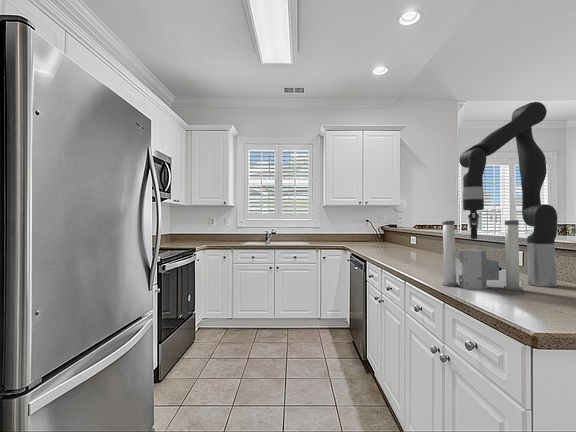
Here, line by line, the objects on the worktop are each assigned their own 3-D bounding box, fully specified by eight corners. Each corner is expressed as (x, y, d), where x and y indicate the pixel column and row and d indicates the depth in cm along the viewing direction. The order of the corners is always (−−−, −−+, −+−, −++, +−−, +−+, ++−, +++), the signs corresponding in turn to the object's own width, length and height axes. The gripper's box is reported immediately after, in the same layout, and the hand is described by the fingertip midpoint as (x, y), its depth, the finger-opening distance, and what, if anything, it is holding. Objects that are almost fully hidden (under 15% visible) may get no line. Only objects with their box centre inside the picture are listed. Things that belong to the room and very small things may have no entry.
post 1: (458, 284, 147) (456, 220, 147) (458, 287, 141) (456, 220, 142) (443, 283, 150) (441, 220, 150) (442, 286, 144) (440, 221, 145)
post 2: (521, 288, 137) (519, 220, 137) (523, 291, 131) (521, 220, 132) (503, 287, 139) (501, 220, 140) (504, 290, 134) (503, 220, 134)
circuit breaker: (503, 289, 135) (503, 251, 135) (464, 288, 138) (463, 251, 138) (496, 286, 143) (495, 249, 143) (458, 285, 145) (458, 249, 146)
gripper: (484, 197, 134) (485, 239, 133) (483, 199, 146) (483, 237, 146) (462, 198, 137) (463, 239, 137) (463, 199, 150) (463, 237, 150)
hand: (473, 238), depth 141 cm, fingers open, 8 cm apart
